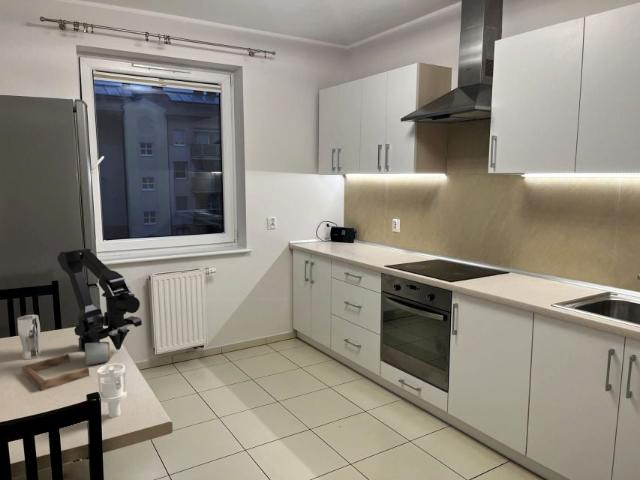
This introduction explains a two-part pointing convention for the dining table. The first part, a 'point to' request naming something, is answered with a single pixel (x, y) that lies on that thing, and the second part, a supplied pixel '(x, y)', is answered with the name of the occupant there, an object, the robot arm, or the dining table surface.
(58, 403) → the dining table surface
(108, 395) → the strainer
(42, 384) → the walnut bay
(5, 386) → the dining table surface
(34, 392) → the dining table surface
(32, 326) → the beer glass
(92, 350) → the ceramic mug
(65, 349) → the dining table surface
